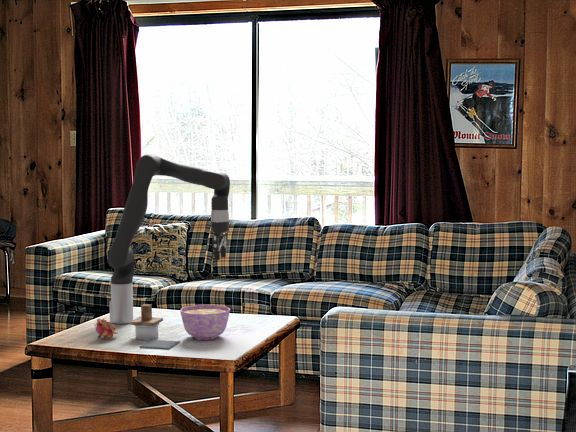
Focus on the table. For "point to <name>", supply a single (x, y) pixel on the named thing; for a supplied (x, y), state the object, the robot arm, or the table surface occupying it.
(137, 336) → the jam crock
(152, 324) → the lid
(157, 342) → the mat
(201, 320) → the bowl of food
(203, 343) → the table surface
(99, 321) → the flower
